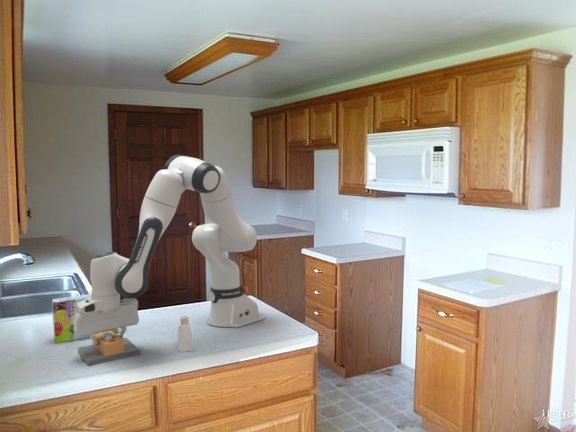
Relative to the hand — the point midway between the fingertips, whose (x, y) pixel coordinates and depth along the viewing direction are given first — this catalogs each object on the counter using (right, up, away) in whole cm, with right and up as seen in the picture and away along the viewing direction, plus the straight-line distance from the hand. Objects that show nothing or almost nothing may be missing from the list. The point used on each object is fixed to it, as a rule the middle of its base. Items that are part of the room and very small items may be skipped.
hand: (108, 342), depth 161 cm
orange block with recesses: (0, -2, 0) cm, 2 cm away
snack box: (-14, -2, +17) cm, 23 cm away
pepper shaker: (+25, -3, +3) cm, 25 cm away
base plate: (0, -4, 0) cm, 4 cm away
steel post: (0, -4, 0) cm, 4 cm away
